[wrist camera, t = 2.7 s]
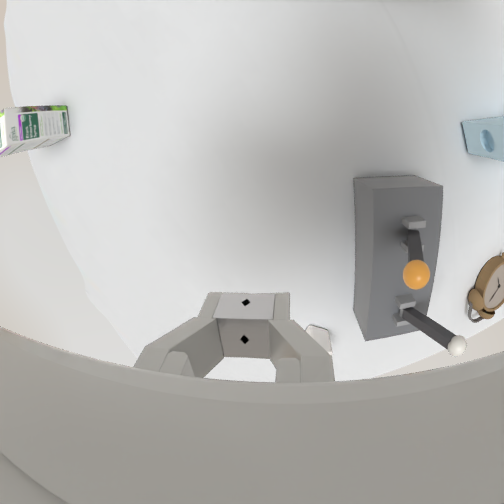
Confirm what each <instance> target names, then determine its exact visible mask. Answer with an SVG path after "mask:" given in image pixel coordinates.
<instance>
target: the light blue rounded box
mask: <svg viewBox="0 0 504 504" xmlns="http://www.w3.org/2000/svg"><path fill="white" fill-rule="evenodd" d="M462 125H463V129H464V134H465V139H466V144H467V149H468V153H469V154H474V155H479V156H483V157H487V158H492V159H496V160H499V161H503V162H504V117H495V118H486V119H479V120H471V121H465V122H462Z"/></svg>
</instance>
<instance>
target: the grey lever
mask: <svg viewBox="0 0 504 504" xmlns="http://www.w3.org/2000/svg"><path fill="white" fill-rule="evenodd" d="M399 316H400V317H402V318H403V319H404V320H406V321H407V322H409V323H410V324H412V325H413V326H415V327H416V328H418V329H419V330H420V331H422V332H423V333H425V334H426V335H428V336H429V337H431V338H432V339H433V340H435V341H436V342H438V343H439V344H441V345H442V346H443V347H445V348H446V349H448V352H449V353H450V355H452V356H454V357H458V356H460V355H462V354H463V353H464V352H465V350H466V346H467V343H466V340H465V338H464V337H463V336H460V335H457V336H456V335H455V334H453V333H452V332H450V331H449V330H447V329H446V328H444V327H443V326H441V325H440V324H438V323H436V322H435V321H433V320H432V319H430V318H429V317H427V316H426V315H424V314H422V313H421V312H419V311H418V310H416V309H414V308H413V307H409V308H403V309H400V314H399Z"/></svg>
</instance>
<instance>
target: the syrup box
mask: <svg viewBox="0 0 504 504" xmlns="http://www.w3.org/2000/svg"><path fill="white" fill-rule="evenodd" d="M68 136H70V132H69V124H68V115H67V106H27V107H11V108H5V109H3V110H2V111H0V157H3V156H7V155H10V154H14V153H19V152H23V151H27V150H32V149H37V148H41V147H46V146H51V145H52V144H54V143H56V142H58V141H60V140H62V139H64V138H66V137H68Z"/></svg>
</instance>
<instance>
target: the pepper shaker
mask: <svg viewBox="0 0 504 504" xmlns="http://www.w3.org/2000/svg"><path fill="white" fill-rule="evenodd" d="M306 332H307V333H308V334H309V335H310V336H311V337H312V338H313V339H314V340H315V341H316V342H317V343H318V344H319V345H320V346H321V347H323V348H324V349H325V350H326V351H327V352H328V353H329V354H330V355H331V356H332V347H331V343H330V338H329V334H328V331H327V330H325V329H322V328H318V327H315V326H308V328H307V329H306Z"/></svg>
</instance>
